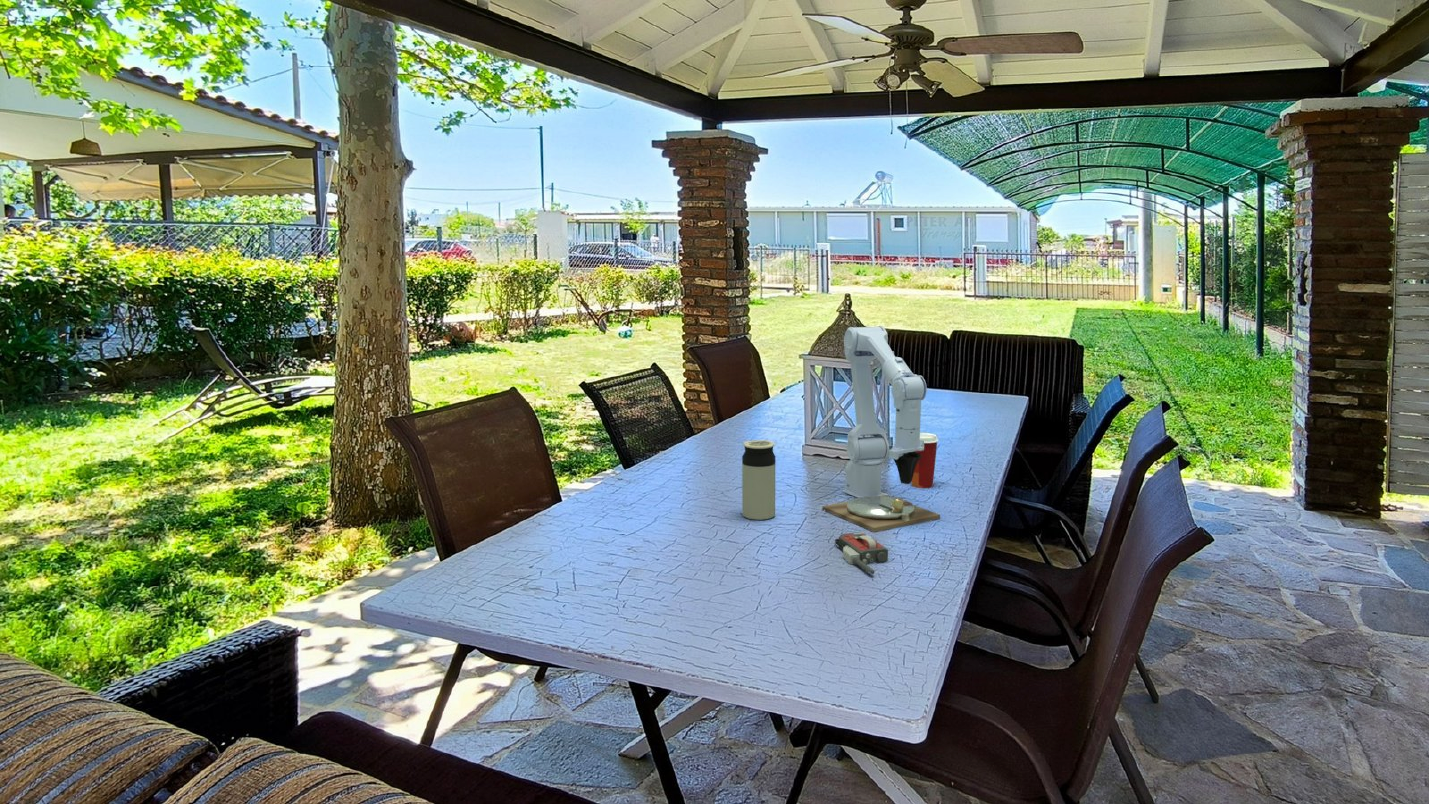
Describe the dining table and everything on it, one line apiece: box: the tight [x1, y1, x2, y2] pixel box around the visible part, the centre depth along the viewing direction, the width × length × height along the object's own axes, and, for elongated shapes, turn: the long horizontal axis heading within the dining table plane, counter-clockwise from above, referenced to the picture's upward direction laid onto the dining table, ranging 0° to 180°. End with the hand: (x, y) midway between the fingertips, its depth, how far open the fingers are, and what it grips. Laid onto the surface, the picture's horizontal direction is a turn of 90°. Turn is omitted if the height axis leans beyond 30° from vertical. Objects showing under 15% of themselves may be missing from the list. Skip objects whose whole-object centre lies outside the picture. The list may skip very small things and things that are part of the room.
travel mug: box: [741, 439, 776, 521], centre depth 210 cm, size 8×8×18 cm
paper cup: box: [911, 432, 939, 489], centre depth 236 cm, size 8×8×14 cm
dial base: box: [821, 495, 941, 533], centre depth 211 cm, size 20×20×2 cm
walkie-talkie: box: [834, 531, 889, 575], centre depth 181 cm, size 9×4×20 cm
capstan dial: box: [847, 496, 914, 519], centre depth 211 cm, size 16×16×4 cm
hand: (905, 483), depth 208 cm, fingers closed
